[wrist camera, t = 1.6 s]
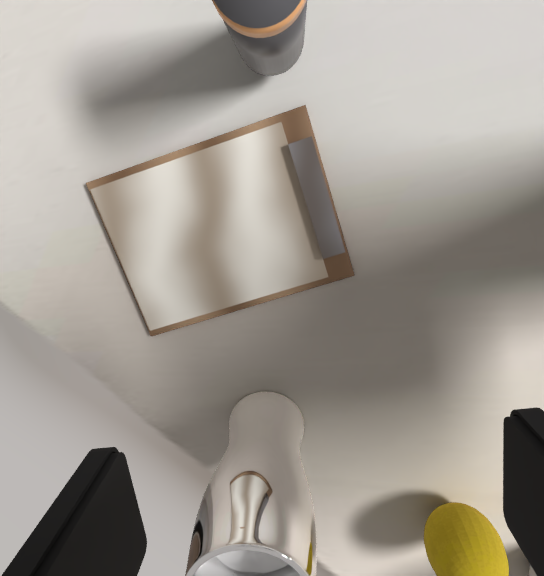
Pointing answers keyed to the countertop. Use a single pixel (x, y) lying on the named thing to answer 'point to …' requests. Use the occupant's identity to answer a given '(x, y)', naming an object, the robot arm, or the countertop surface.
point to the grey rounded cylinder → (266, 31)
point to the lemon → (463, 543)
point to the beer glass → (257, 498)
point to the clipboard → (224, 223)
